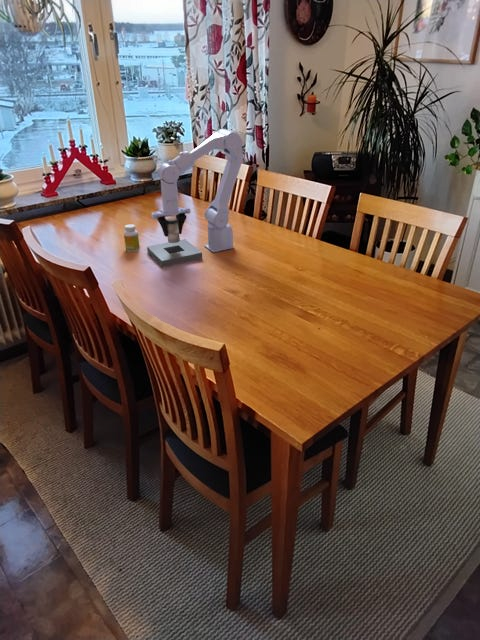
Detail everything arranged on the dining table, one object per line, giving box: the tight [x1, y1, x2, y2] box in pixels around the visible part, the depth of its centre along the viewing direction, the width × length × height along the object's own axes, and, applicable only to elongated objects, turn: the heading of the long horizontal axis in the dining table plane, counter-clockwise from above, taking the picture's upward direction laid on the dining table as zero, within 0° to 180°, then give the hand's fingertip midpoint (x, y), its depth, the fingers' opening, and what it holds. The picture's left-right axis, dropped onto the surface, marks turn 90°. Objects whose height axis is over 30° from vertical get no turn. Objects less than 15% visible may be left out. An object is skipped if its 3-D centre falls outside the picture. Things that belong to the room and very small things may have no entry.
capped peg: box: [166, 217, 181, 243], centre depth 179 cm, size 5×5×8 cm
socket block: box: [146, 238, 203, 268], centre depth 183 cm, size 16×16×2 cm
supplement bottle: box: [123, 223, 140, 253], centre depth 187 cm, size 5×5×10 cm
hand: (172, 234), depth 180 cm, fingers closed on capped peg, 5 cm apart
